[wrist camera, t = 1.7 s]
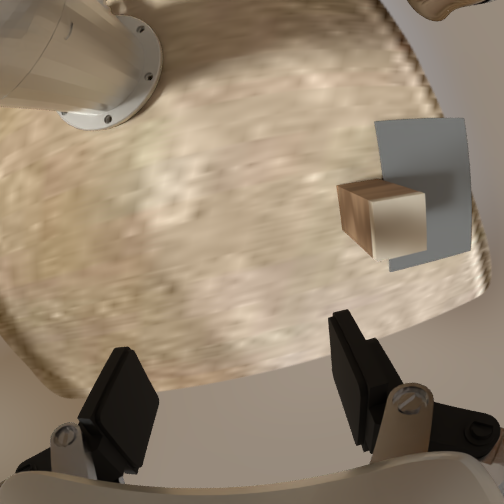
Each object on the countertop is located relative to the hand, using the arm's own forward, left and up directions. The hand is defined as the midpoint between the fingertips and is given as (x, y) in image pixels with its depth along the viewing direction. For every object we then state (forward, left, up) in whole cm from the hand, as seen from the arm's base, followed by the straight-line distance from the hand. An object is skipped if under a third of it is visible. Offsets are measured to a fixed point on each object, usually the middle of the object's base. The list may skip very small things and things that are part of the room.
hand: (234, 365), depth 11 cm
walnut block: (0, +12, -20) cm, 23 cm away
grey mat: (0, +21, -20) cm, 29 cm away
